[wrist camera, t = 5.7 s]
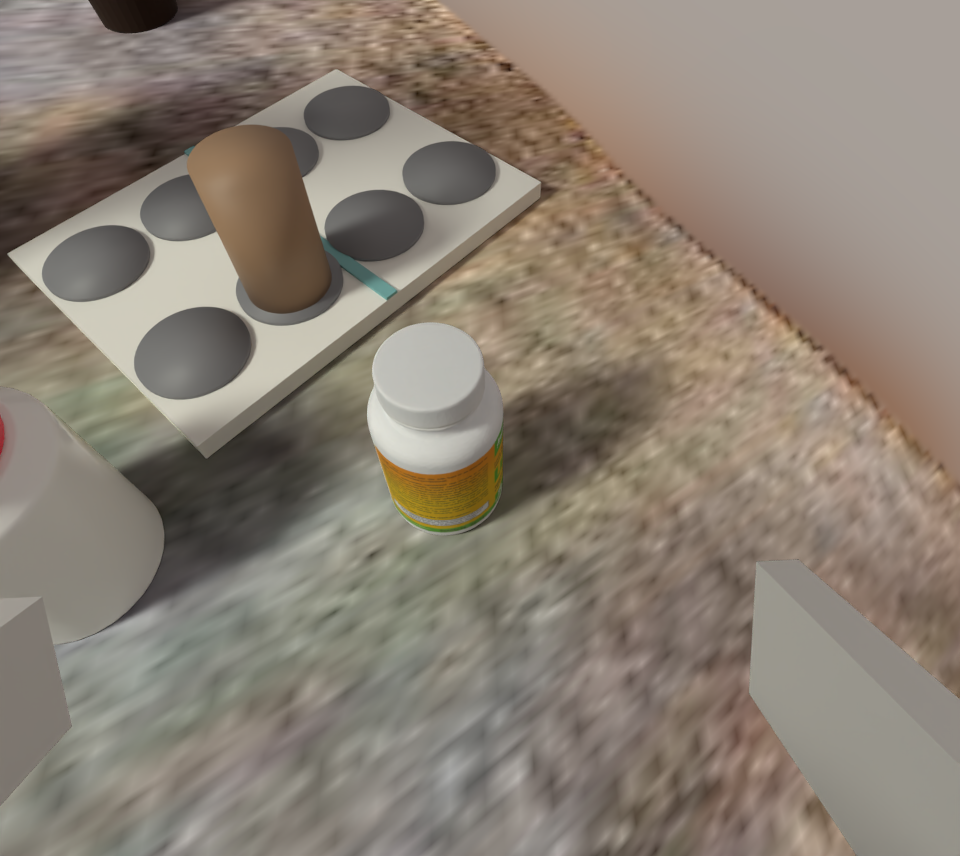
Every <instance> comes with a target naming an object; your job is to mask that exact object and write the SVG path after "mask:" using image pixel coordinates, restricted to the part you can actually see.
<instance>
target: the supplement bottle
mask: <svg viewBox="0 0 960 856" xmlns="http://www.w3.org/2000/svg"><path fill="white" fill-rule="evenodd" d="M372 375H373V381H374V385H375V386H374V388H373V390H372V392H371V395H370V398H369V401H368V407H367V421H368V426H369V430H370V434H371V437H372V440H373V443H374V446H375V449H376V452H377V455H378V458H379V461H380V464H381V467H382V470H383V473H384V476H385V479H386V483H387V486H388V489H389V491H390V495H391V497H392V500H393V502H394V505H395V507H396V509H397V510H398V512H399V513H400V514H401V516H402V517H403V518H404V519H405V520H406V521H407V522H408V523H410V524H411V525H412V526H414V527H415V528H417V529H419V530H421V531H424V532H426V533H430V534H434V535H454V534H459V533H463V532H466V531H468V530H471V529H473V528H474V527H476V526H478V525H479V524H481V523H482V522H483V521H484V520H485V519H487V518H488V517H489V515H490V514H491V513H492V512H493V510H494V509H495V507H496V505H497V503H498V501H499V498H500V496H501V491H502V483H503V403H502V397H501V393H500V390H499V388H498V386H497V384H496V382H495V380H494V379H493V377H492V376H491V375H490V373H489V372H488V371H487V370H486V369H485V368H484V361H483V356H482V353H481V350H480V348H479V346H478V345H477V343H476V342H475V341H474V340H473V339H472V338H471V337H470V336H469V335H468V334H467V333H465V332H464V331H462V330H460V329H458V328H456V327H454V326H451V325H448V324H443V323H434V322H428V323H419V324H415V325H411V326H408V327H405V328H403V329H401V330H399V331H397V332H396V333H394V334H393V335H391V336H390V337H389V338H388V339H386V340H385V341H384V342H383V344H382V345H381V346H380V348H379V349H378V351H377V353H376V355H375V357H374V361H373V366H372Z"/></svg>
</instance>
